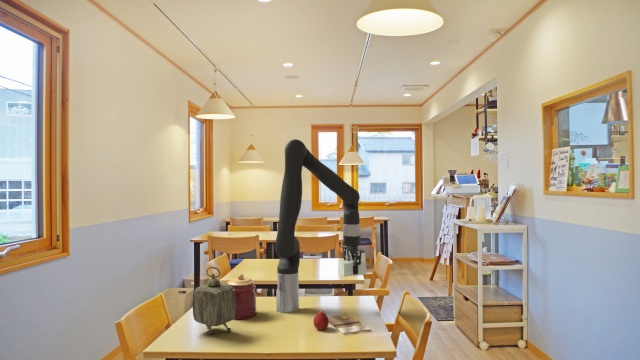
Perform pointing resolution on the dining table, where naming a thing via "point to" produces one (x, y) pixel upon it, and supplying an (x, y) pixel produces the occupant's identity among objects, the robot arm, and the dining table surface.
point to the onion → (321, 321)
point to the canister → (244, 297)
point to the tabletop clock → (214, 303)
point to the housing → (351, 268)
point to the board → (348, 325)
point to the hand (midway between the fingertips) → (352, 272)
